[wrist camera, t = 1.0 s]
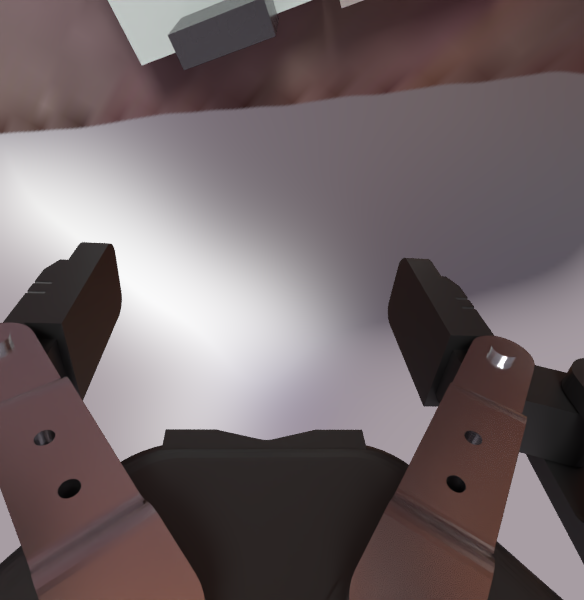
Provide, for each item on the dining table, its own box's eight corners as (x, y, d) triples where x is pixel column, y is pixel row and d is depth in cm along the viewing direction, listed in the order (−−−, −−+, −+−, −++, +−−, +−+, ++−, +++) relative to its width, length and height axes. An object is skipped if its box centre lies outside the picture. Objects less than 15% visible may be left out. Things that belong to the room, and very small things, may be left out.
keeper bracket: (181, 17, 28) (167, 35, 26) (267, -18, 27) (263, -3, 24) (195, 50, 30) (183, 70, 27) (278, 18, 28) (275, 36, 25)
